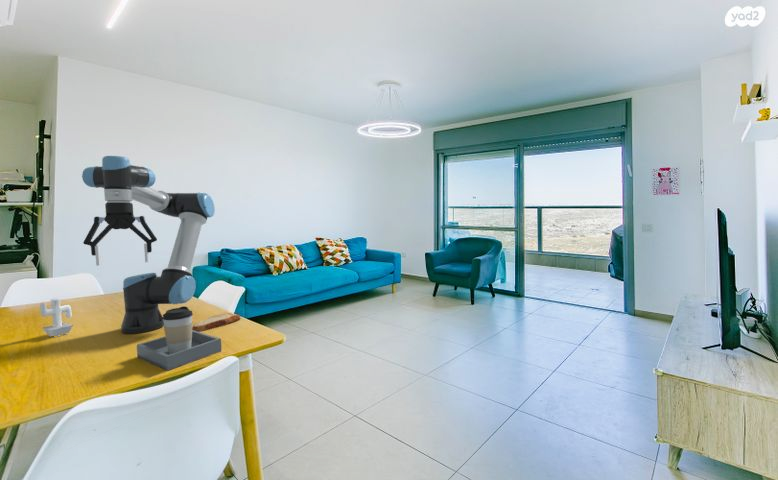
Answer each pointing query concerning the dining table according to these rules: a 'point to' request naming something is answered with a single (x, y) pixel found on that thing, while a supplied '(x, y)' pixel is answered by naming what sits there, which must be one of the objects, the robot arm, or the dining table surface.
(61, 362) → the dining table surface
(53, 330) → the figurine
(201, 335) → the tray
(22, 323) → the dining table surface
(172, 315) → the coffee cup
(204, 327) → the slice of bread
